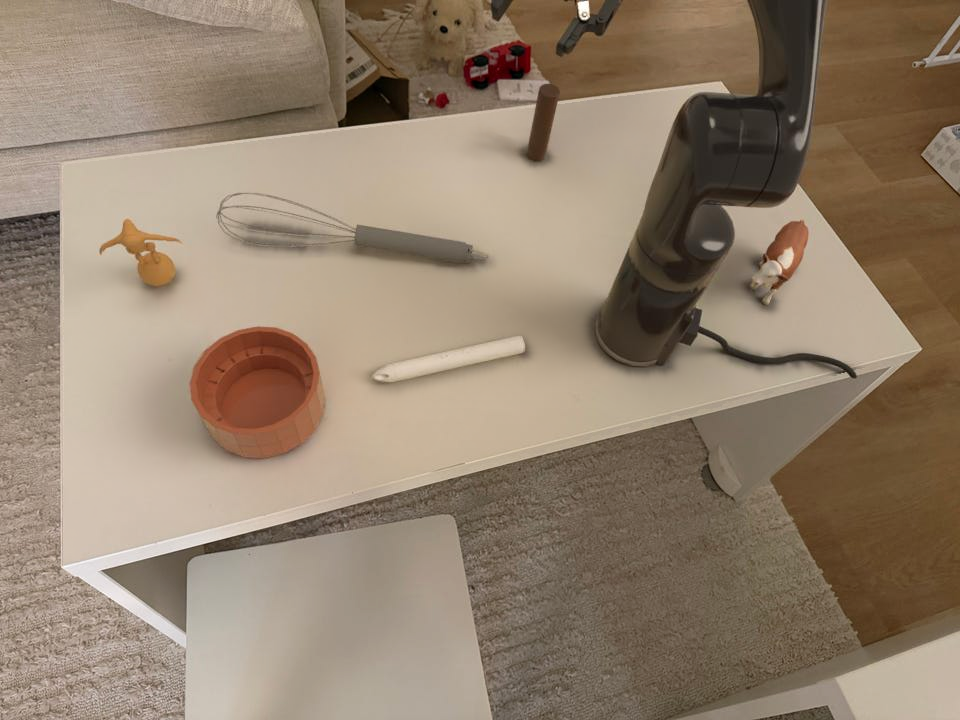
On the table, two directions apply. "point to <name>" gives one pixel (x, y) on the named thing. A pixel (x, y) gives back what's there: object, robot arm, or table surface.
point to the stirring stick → (542, 122)
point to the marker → (450, 359)
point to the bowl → (258, 391)
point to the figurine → (151, 265)
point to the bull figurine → (781, 258)
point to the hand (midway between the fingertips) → (526, 33)
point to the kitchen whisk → (372, 237)
